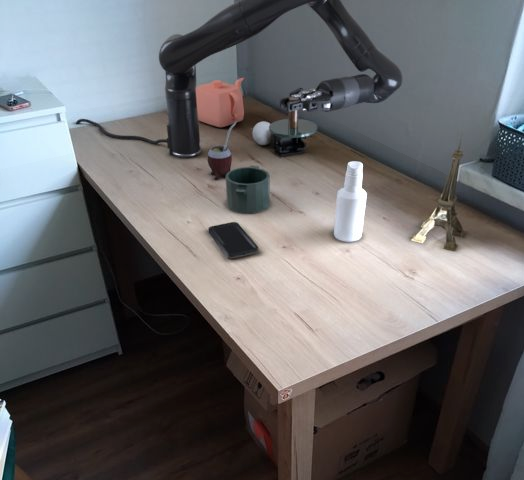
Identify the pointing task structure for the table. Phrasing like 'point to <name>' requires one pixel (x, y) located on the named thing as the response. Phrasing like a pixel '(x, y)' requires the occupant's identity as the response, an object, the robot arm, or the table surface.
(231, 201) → the pot
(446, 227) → the eiffel tower
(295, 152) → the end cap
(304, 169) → the table surface
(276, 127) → the lid
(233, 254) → the phone
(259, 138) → the white sphere
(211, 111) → the teapot
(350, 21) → the robot arm
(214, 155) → the mate gourd
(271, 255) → the table surface
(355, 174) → the white bottle
